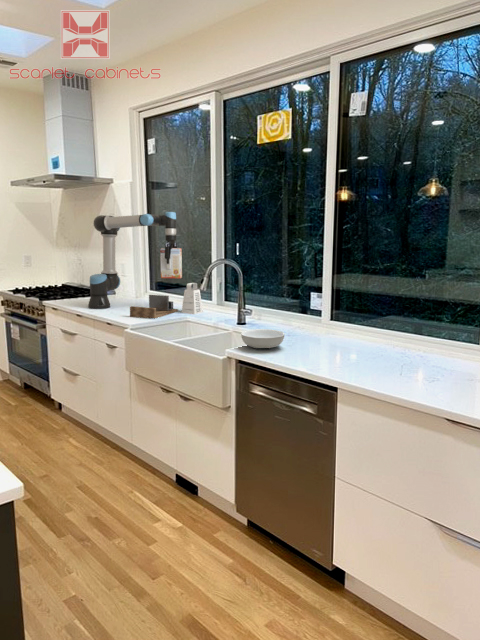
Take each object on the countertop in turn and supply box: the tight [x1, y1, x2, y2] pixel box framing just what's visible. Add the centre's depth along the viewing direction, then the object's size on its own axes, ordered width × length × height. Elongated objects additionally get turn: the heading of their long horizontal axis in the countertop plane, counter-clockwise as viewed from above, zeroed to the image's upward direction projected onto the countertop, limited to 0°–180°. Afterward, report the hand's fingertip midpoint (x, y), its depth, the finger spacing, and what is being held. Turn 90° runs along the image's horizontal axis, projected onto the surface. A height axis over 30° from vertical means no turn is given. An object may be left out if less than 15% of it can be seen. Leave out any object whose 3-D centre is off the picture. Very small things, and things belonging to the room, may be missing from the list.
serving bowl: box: [240, 328, 285, 349], centre depth 228 cm, size 21×21×7 cm
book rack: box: [129, 305, 179, 320], centre depth 314 cm, size 18×31×6 cm, turn 159°
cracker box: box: [159, 247, 183, 279], centre depth 330 cm, size 14×6×21 cm, turn 84°
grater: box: [181, 282, 204, 315], centre depth 320 cm, size 10×10×20 cm
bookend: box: [148, 294, 174, 311], centre depth 322 cm, size 14×10×10 cm
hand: (171, 268), depth 331 cm, fingers closed on cracker box, 7 cm apart
